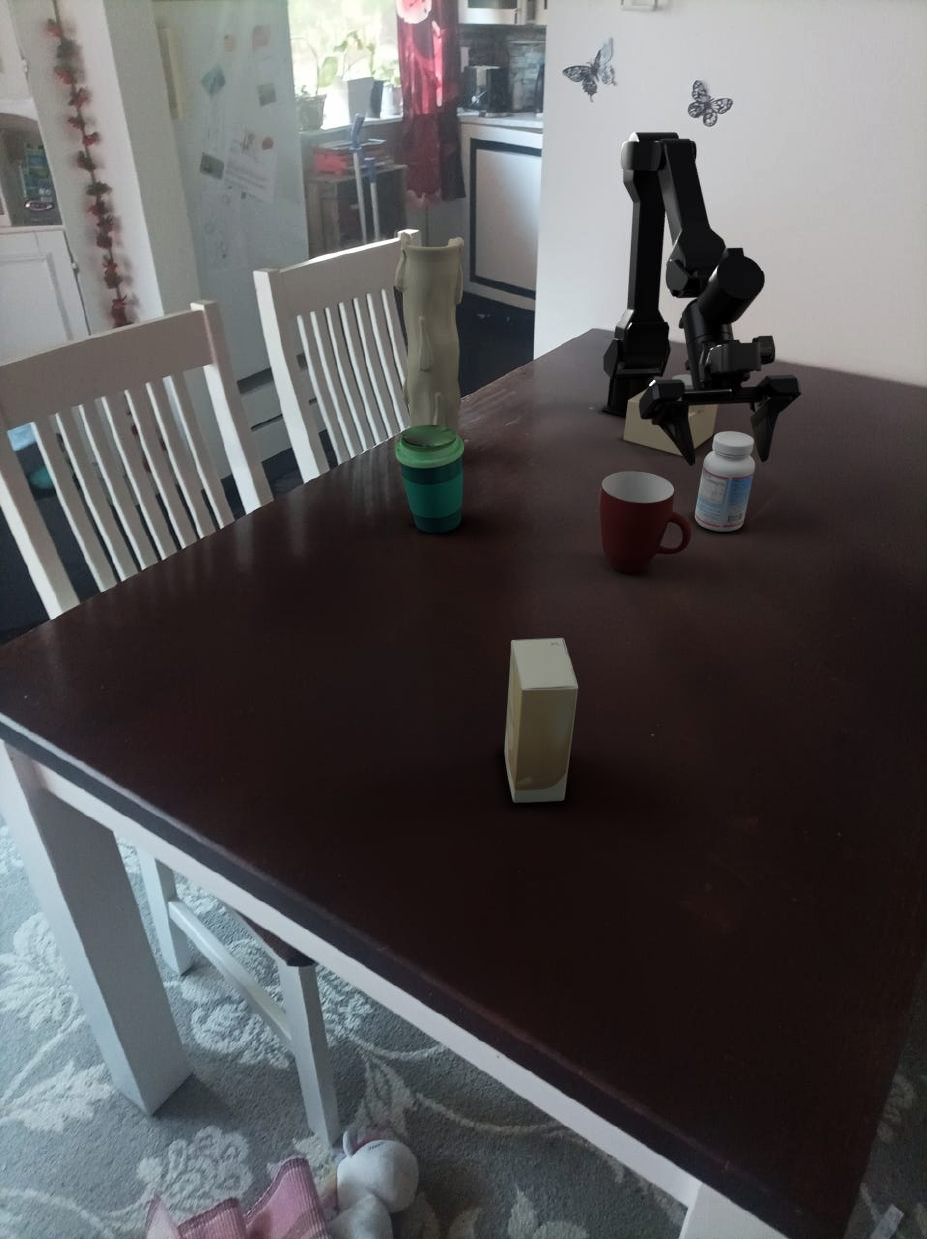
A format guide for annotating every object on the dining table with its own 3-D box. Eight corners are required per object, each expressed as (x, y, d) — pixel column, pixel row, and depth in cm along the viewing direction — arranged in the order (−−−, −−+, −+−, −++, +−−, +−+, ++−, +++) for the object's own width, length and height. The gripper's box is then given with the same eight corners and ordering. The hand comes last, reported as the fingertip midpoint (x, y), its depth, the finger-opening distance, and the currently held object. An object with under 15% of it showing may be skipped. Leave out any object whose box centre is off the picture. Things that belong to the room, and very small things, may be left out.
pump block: (623, 439, 131) (629, 388, 127) (653, 420, 138) (660, 370, 133) (688, 457, 126) (697, 404, 121) (716, 436, 133) (726, 385, 128)
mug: (685, 555, 103) (699, 477, 97) (682, 590, 96) (697, 510, 91) (596, 543, 105) (604, 467, 99) (587, 577, 98) (596, 498, 93)
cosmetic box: (503, 751, 75) (508, 636, 68) (552, 749, 75) (563, 634, 68) (512, 807, 70) (520, 688, 63) (566, 804, 70) (579, 685, 63)
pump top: (664, 394, 126) (666, 380, 124) (677, 386, 129) (680, 372, 127) (692, 401, 124) (695, 386, 122) (705, 393, 126) (708, 378, 125)
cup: (475, 532, 107) (477, 440, 100) (416, 547, 104) (414, 454, 97) (444, 505, 113) (444, 417, 106) (387, 519, 109) (383, 429, 103)
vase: (394, 461, 124) (385, 235, 107) (419, 439, 130) (414, 223, 113) (449, 471, 121) (449, 241, 104) (472, 448, 128) (475, 228, 111)
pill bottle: (738, 512, 112) (756, 429, 106) (746, 535, 107) (765, 449, 101) (690, 509, 112) (705, 427, 106) (696, 532, 107) (712, 447, 101)
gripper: (659, 311, 99) (678, 440, 96) (813, 307, 101) (835, 432, 99) (630, 358, 110) (646, 475, 107) (769, 353, 112) (789, 468, 110)
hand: (728, 462), depth 105 cm, fingers open, 9 cm apart
